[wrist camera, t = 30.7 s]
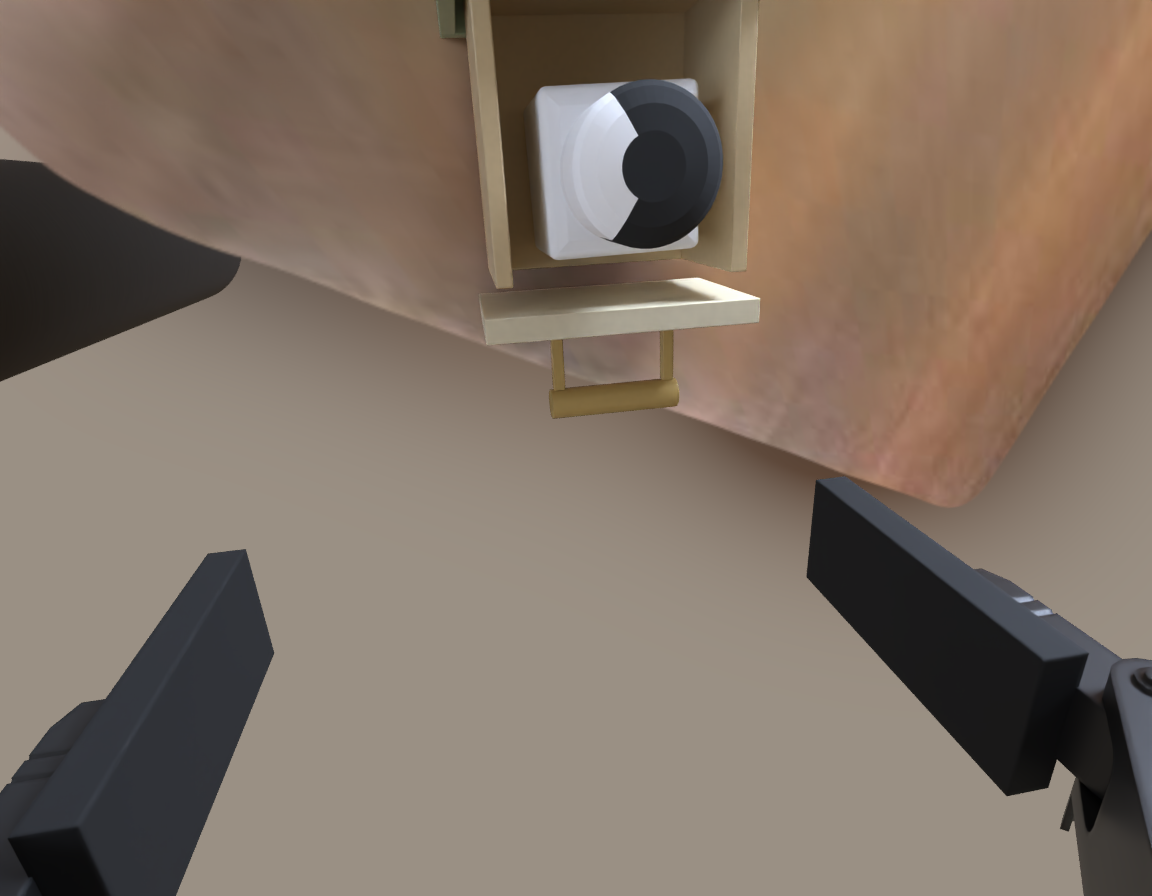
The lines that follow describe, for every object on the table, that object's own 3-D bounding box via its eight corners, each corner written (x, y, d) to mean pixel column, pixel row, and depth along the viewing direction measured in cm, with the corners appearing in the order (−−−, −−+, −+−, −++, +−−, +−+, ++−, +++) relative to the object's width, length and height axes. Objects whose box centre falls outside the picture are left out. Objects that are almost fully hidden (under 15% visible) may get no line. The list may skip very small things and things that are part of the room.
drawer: (696, 375, 42) (754, 418, 34) (489, 395, 40) (496, 445, 32) (704, 0, 34) (780, -61, 26) (448, 3, 32) (445, -61, 24)
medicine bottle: (654, 99, 34) (747, 52, 23) (658, 239, 37) (741, 256, 26) (522, 107, 34) (552, 62, 22) (535, 250, 36) (568, 272, 25)
